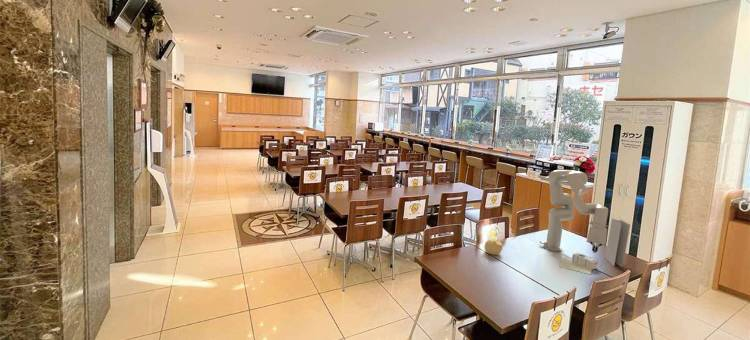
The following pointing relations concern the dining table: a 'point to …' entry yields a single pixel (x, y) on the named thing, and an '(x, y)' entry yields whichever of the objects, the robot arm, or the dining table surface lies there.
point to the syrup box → (585, 261)
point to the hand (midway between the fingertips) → (594, 252)
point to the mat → (574, 266)
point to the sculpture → (493, 246)
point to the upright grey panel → (617, 242)
